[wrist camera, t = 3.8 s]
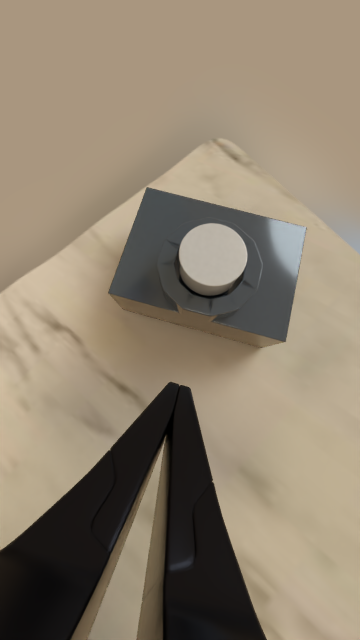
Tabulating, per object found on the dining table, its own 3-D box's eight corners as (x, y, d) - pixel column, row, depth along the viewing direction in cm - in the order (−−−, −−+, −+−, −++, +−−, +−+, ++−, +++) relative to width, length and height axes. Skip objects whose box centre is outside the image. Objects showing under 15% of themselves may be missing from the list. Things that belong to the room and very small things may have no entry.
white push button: (232, 303, 16) (239, 294, 14) (171, 286, 16) (170, 275, 14) (245, 247, 17) (254, 232, 15) (187, 232, 17) (189, 215, 15)
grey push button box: (261, 349, 22) (299, 341, 15) (122, 310, 23) (98, 285, 16) (280, 255, 24) (322, 210, 17) (152, 222, 25) (143, 166, 18)
